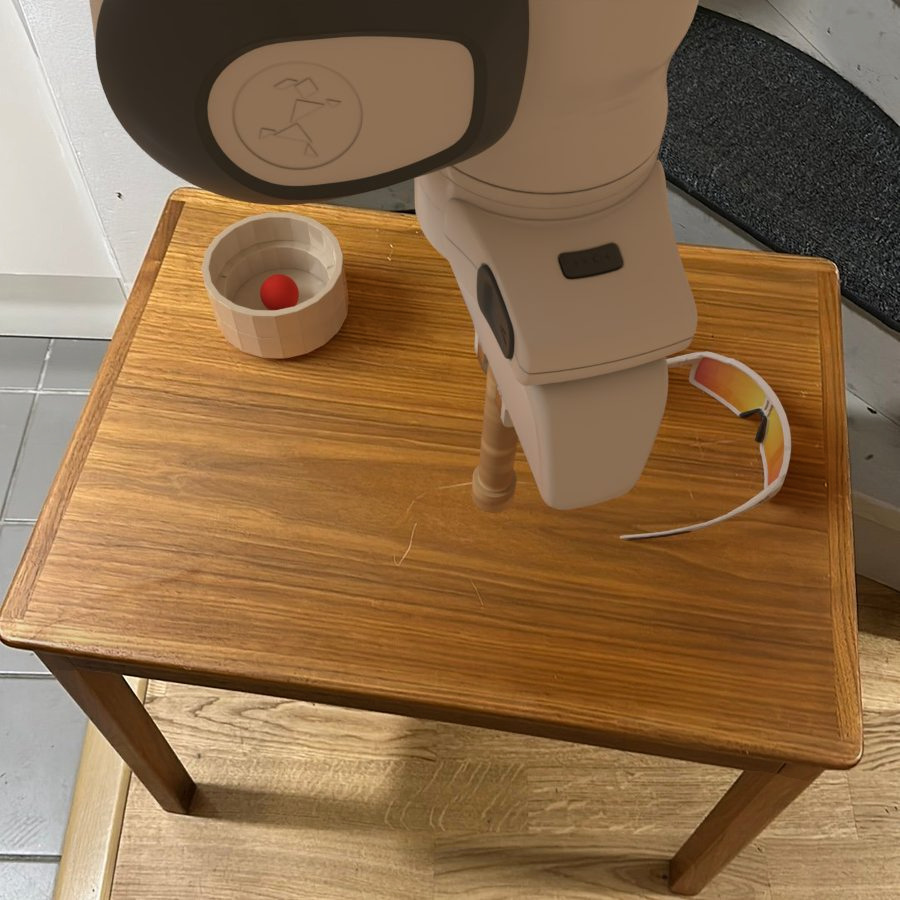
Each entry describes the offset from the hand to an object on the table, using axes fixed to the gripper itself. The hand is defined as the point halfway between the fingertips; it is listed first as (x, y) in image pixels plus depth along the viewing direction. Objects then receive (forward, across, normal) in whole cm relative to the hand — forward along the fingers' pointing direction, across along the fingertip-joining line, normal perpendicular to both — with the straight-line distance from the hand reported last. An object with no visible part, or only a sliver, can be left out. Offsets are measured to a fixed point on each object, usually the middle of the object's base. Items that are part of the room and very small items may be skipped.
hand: (505, 387), depth 46 cm
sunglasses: (+23, -6, +18) cm, 30 cm away
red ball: (+21, -28, -9) cm, 37 cm away
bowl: (+23, -28, -9) cm, 38 cm away
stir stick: (+11, 0, 0) cm, 11 cm away
